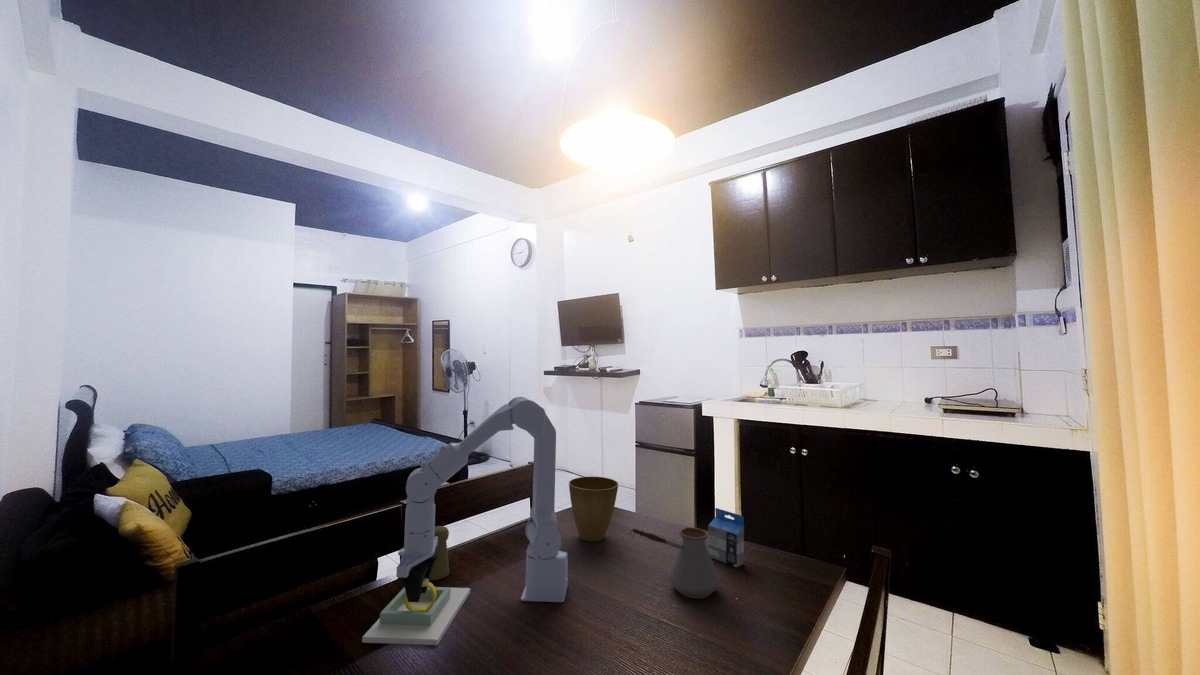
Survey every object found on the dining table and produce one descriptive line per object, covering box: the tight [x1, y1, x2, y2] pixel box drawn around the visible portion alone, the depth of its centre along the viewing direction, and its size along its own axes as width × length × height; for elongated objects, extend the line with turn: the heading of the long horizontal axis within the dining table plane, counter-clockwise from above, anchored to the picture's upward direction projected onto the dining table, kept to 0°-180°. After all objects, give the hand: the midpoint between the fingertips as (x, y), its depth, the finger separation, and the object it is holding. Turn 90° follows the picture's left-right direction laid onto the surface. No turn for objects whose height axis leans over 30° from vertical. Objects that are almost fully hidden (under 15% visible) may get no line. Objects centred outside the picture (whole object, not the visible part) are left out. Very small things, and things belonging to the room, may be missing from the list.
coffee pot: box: [629, 526, 720, 600], centre depth 99 cm, size 21×12×15 cm, turn 105°
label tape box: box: [707, 507, 745, 568], centre depth 115 cm, size 9×4×12 cm, turn 42°
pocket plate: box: [361, 586, 471, 646], centre depth 88 cm, size 14×18×3 cm
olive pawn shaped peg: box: [429, 525, 450, 581], centre depth 106 cm, size 6×6×11 cm
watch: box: [404, 578, 436, 612], centre depth 88 cm, size 6×3×6 cm, turn 98°
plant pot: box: [568, 476, 619, 543], centre depth 129 cm, size 15×15×16 cm
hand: (417, 596), depth 88 cm, fingers closed on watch, 3 cm apart
